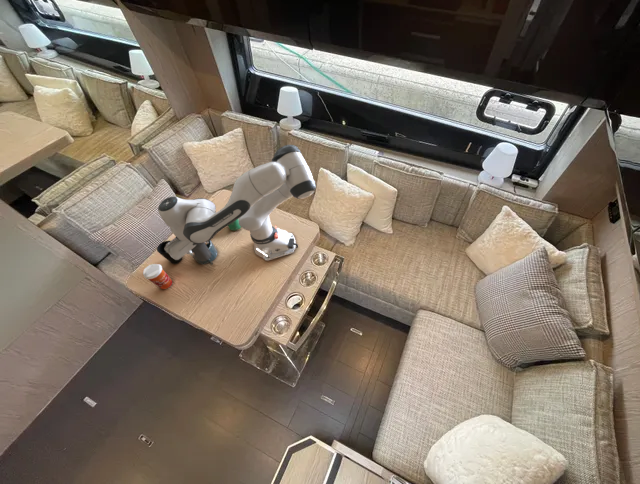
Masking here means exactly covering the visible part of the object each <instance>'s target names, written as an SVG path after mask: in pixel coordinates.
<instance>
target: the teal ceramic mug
mask: <svg viewBox="0 0 640 484" xmlns="http://www.w3.org/2000/svg"><path fill="white" fill-rule="evenodd" d="M208 242H209V243H208V244H207V245H206V246H207V247H208V249H209V250H210V252H211V257H210V259H208V260H207V261H199V260H198V258H197V257H196V256H195V255H193V256H191V257H192V258H193V259H194V261H195V262H196V263H197V264H199V265H208V264H210V266H213V265H214V263H213V262H214V261H215V259H216V258H217V257H218V254H219V253H218V249H217V248H216V246H215V245H214V243H213V242H212V239H211V240H210V241H208ZM190 251H191V250H190Z"/></svg>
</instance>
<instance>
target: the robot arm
mask: <svg viewBox="0 0 640 484" xmlns="http://www.w3.org/2000/svg"><path fill="white" fill-rule="evenodd" d="M234 181H235V182H234V184H233V187H232V189H231V193H230V195H229V199H228V200H227V203H226V204H225V205H224V206H223V207H222V208H221V209H219V210H218V211H217V206H216V204H215V203H214V202H213V201H212V200H210V199H209V198H204V197H198V198H192V199H184V198H181V197H178V196H173V195H172V196H168V197H166V198H163V200H162V201H160V203H159V205H158V207H157V211H158V214H159V217H160V218H161V219H162V221H163V222H164V224H165V225H166V226H167V227H169V229H170V231H171V233H172V234H173V235H174V236H175V237H174V238H172V239H171V240H169V241H170V242H169V243H167V244H166V246H165V248H164V250H165V251H166V252H167V253H169V255H170V256H171V257H172V258H173V259H175V260H179V259H180V258H182V259H183V257H184V256H186V255H188V256H189V255H190V256H191V257H192V256H193V255H195V253H194V252H193V251H190V250H192V249H193V248H194V247H195V246H196V245H193V243H197V244H201V243H205V244H206V245H207V244H208V243H209V242H208V241H210V240H211V241H212V240H213V239H214V238H215V237H216V236H217V234H219V232H221V231H222V230H224V229H225V228H227V227H228V225H230V224H231V223H233V222H234V221H236V220H237V219H239V225H240V226H241V229H243V230H245V231H249V234H250V238H251V240H252V242H253V250H254V253H255V254H256V255H257V256H258V257H260V258H262V259H263V260H264V261H266V262H268V261H269V262H270V261H272V260H275V259H278V258H282V257H285V256H288V255H291V254H293V253H294V252H295V250H296V249H298V248H299V244H298V243H296V238H295V236H294V234H293V233H292V232H288V231H287V230H285V229H282V228H281V229H280V228H279V227H278V226H277V225H275V226H273V225H272V222H271V217H270V215H271V213H272V212H273V211H275V209H276V208H278V207H279V206H281V205H282V204H283V203H285V202H287V201H288V200H290V199H291V198H295V199H297V200H301V199H307V198H309V197H310V196H312V195H313V194H314V193H315V192H316V189H317V185H316V181H315V180H314V177H313V174H312V171H311V169H310V166H309V165H308V163H307V162H306V160H305V158H304V156H303V154H302V152H301V150H300V148H299V147H298V146H297V145H294V144H286V145H282V146H280V147H279V148H278V149H277V150H276V151H275V153H274V155H273V157H272V158H271V161H269V162H266V163H263V164H260V165H258V166H255V167H253V168H250V169H249V170H247V171H246V172H245V171H244V173H242V174H241V175H240V176H238V178H236V180H234ZM190 241H191V242H190Z"/></svg>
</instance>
